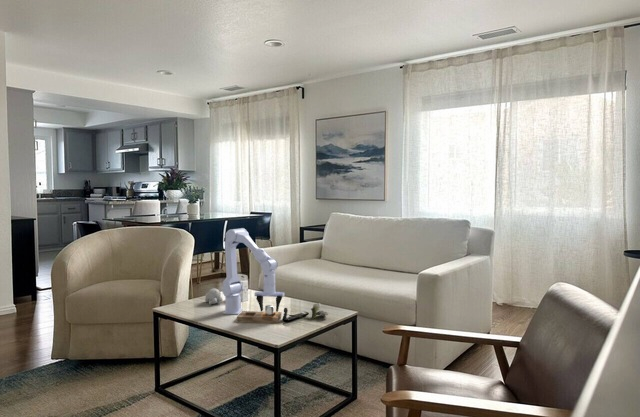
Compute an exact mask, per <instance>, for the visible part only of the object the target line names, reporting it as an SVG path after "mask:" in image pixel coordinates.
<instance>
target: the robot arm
mask: <svg viewBox="0 0 640 417" xmlns="http://www.w3.org/2000/svg"><path fill="white" fill-rule="evenodd" d="M224 241H225V242H224V250H225V251H224V254H225V270H226V272H225V273H226V277H225V279H223V281H222V287H221V292H222V294H223V295H224V298H225V299H224V301H225V305H224V306H225V309H224V311H223V312H222V314H223V315H239V314H240V313H241V312H242V311H244V310H243V308H242V302H241V297H240V292H241V291H242V289H243V287H242V284H241V279H240V278H239V277H238V276H237V274H238V262H237V246H238V245H239V244H240V243H242V244H244V245H245V246H246V247H247V248H248V249H249V250H250V251H251V252H252V253H253V254H252V256H253V258H255V260H256V261H257V262H258V263H259V264H260V269H261V271H262V274H263V291H262V290H261V291H254V297H256V301H257V303H258V305H259V309H260V312H264V297H275V304H276V305H275V306H276V307H275V312H279V307H280V304H281V301H282V299H283V298H284V297H285V291H284V292H283V291H276V270H277V269H278V262H277V259H276V258H275V257H273V258H272V257H271V256H270V255H269V254H268V253H267V252H266V251H265V249H264V248H262V247H258V245H257V244H256V243H255V242H254V240H253V239H252V237H251V236H250V235H249V232H248V231H247V229H245V228H244V227H241V228H233V229H232V228H231V229H228V230H227V231H226V233H225V240H224Z"/></svg>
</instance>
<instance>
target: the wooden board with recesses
mask: <svg viewBox="0 0 640 417" xmlns="http://www.w3.org/2000/svg"><path fill="white" fill-rule="evenodd" d="M281 319H282V312H279V311H278V312H276V311H274V316H265V311H249V310H248V311H247V310H246V311H245V310H242V311H241V312H240V313H239V314H237V316H236V323H256V324H257V323H258V324H259V323H260V324H261V323H262V324H263V323H264V324H278V323H279V322H280V320H281Z"/></svg>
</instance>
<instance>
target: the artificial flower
mask: <svg viewBox="0 0 640 417" xmlns="http://www.w3.org/2000/svg"><path fill="white" fill-rule="evenodd" d="M283 308H284V309H283V316H282V322H285V321H284V320H286V321H287V316H289V317H291V318H293V317H297V318H302V319H305V320H310V321H311V320H313V319H316V318H317V316H319V317H326V316H328V315H329V313H328V312H326V311H324V310H321V309H322V305H321V303H320V302H319V303H314V304H313V306H310V310H311V317H310V318H308V317H304V316H301V315H294V314H288V311H289V310H288V308H287V307H283ZM283 319H284V320H283Z"/></svg>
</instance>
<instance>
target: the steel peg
mask: <svg viewBox="0 0 640 417" xmlns="http://www.w3.org/2000/svg"><path fill="white" fill-rule="evenodd" d="M274 308H275V307H274V305H273V304H266V305H265V310H264V312H265V316H274V312H275V311H274Z"/></svg>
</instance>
